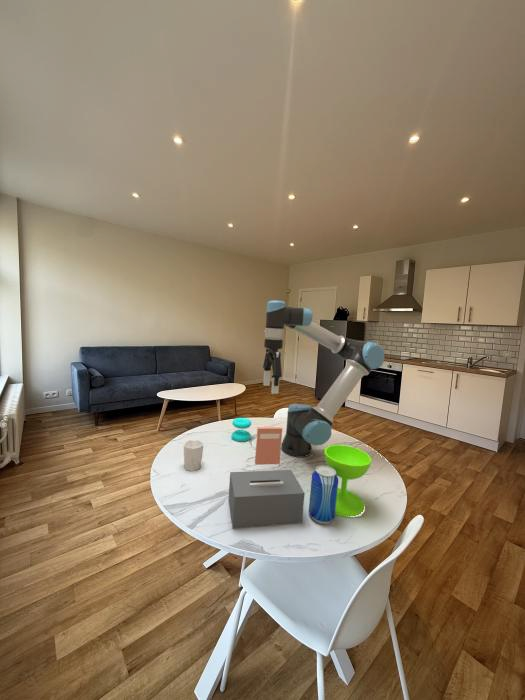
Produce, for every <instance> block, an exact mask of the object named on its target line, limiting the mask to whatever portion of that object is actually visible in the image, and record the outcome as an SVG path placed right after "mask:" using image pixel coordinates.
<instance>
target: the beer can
mask: <svg viewBox="0 0 525 700" xmlns="http://www.w3.org/2000/svg"><path fill="white" fill-rule="evenodd" d="M338 488H339V476H337V475H336V471H335V470H334V469H333V468H331V467H329V466H328V465H317V466H316V467H315V470H314V471H312V474H311V483H310V493H309V503H308V514H309V516H310V518H311V519H312V520H313V521H314V522H316V523H317V524H321V525H328V524H330V523H332V521H333V520H335V517H336V515H335V508H336V499H337V489H338Z"/></svg>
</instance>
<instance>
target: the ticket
mask: <svg viewBox="0 0 525 700" xmlns="http://www.w3.org/2000/svg"><path fill="white" fill-rule="evenodd" d="M282 439H283V427H282V426H281V427H280V426H277V427H276V426H275V427H274V426H272V427H271V426H269V427H268V426H266V427H265V426H264V427H259V426H258V427H257V428H256V442H255V443H256V445H255V457H254V464H255V465H256V466H257V465H280V461H281V460H280V459H281V451H282V449H281V445H282V441H283V440H282Z"/></svg>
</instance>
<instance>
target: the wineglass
mask: <svg viewBox="0 0 525 700" xmlns="http://www.w3.org/2000/svg"><path fill="white" fill-rule="evenodd" d="M323 450H324V451H323V452H324V459H325V463H326V466H329V467H331V468H333V469H334V470H335V471H336V475H337V477H338V478H341V484H340V488H339V487H338V489H337V499H336V508H335V514H336V515H335V516H338V515H339V516H338V517H341V516H344V517H343V518H347V517H348V516H349V517H350V516H356V515H359V514H361V512H363V510H364V506H365V507H366V505H364V504H365V502H364V501H363V499H362V498H361V497H360V496H359V497H358V494H356V493H354V492H353V493H352V491H350V490H348V489H347V487H348V480H349V481H350V480H355V479H359V478H362V477H363V476H364V475H365V474H366V473H367V472H368V471H369V469H370V467H371V464H372V457H371V456H370V455H369V454H368V453H367V452H365V451H364V450H361V449H359V448H357V447H355V446H351V445H350V446H349V445H344V444H332V445H331V444H330V445H329V446H327V447H325V449H323ZM361 499H362V500H361ZM363 502H364V503H363Z"/></svg>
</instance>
